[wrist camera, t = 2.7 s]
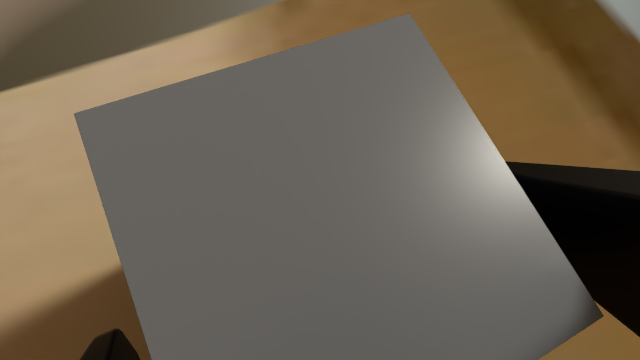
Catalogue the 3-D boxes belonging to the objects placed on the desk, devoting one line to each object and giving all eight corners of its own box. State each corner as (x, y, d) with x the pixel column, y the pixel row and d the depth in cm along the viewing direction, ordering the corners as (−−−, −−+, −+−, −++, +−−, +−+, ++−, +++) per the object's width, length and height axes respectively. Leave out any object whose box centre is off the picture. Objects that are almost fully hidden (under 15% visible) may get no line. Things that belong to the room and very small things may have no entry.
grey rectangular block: (404, 313, 15) (603, 316, 6) (250, 397, 13) (217, 569, 4) (333, 172, 17) (409, 13, 8) (188, 231, 15) (74, 113, 6)
